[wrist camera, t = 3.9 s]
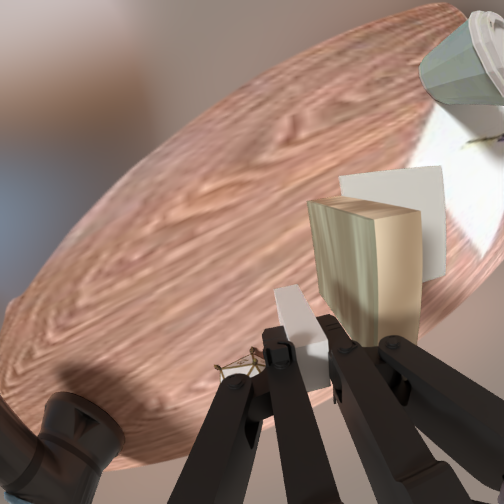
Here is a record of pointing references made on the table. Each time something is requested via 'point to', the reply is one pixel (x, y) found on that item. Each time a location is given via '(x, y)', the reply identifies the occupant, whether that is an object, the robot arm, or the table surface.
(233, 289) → the table surface
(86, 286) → the table surface
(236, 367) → the game die
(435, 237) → the mat
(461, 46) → the disposable coffee cup
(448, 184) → the table surface
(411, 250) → the wooden block
